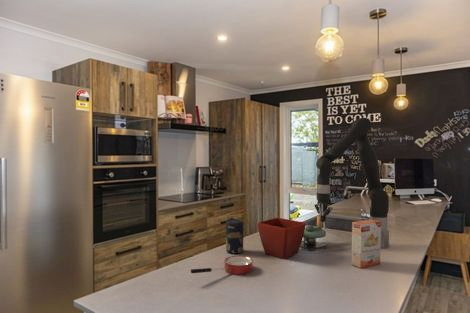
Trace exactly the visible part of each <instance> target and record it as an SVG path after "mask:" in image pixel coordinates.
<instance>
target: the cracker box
mask: <svg viewBox="0 0 470 313" xmlns="http://www.w3.org/2000/svg"><path fill="white" fill-rule="evenodd" d="M381 249H382V248H381V222H380V221H376V220H370V219H366V220H359V221H352V222H351V265H352V266H354V267H356V268H359V269H363V268H367V267H372V266H377V265H380V264H381Z"/></svg>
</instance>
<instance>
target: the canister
mask: <svg viewBox="0 0 470 313" xmlns="http://www.w3.org/2000/svg"><path fill="white" fill-rule="evenodd" d="M225 251H226V252H227V253H230V254H240V253H243V251H244V222H243V221H242V220H241V219H235V218H234V219H229V220H228V219H227V220H226V222H225Z"/></svg>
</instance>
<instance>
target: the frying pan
mask: <svg viewBox="0 0 470 313" xmlns="http://www.w3.org/2000/svg"><path fill="white" fill-rule="evenodd" d="M253 262H254V261H253V258H251V257H250V256H246V255H245V256H244V255H232V256H228V257H226V258H225V259H224V267H217V268H216V267H213V268H211V267H208V268H207V267H206V268H194V269H190V273H191V274H200V273H212V272H216V271H225V272H226V273H228V274H231V275H236V276H238V275H239V276H241V275H242V276H244V275H247V274H250V273H252V271H253V270H254V269H253V268H254V267H253V266H254V264H253Z"/></svg>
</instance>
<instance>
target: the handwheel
mask: <svg viewBox="0 0 470 313" xmlns="http://www.w3.org/2000/svg"><path fill="white" fill-rule="evenodd" d="M326 236H327V231H326V230H324V229H323V222H321V220H320V215H317V216H316V226H314V225H313V224H306V226H305V231H304V235H303V239H304V238H316V239H321V238H322V239H323V238H325V237H326Z"/></svg>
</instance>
